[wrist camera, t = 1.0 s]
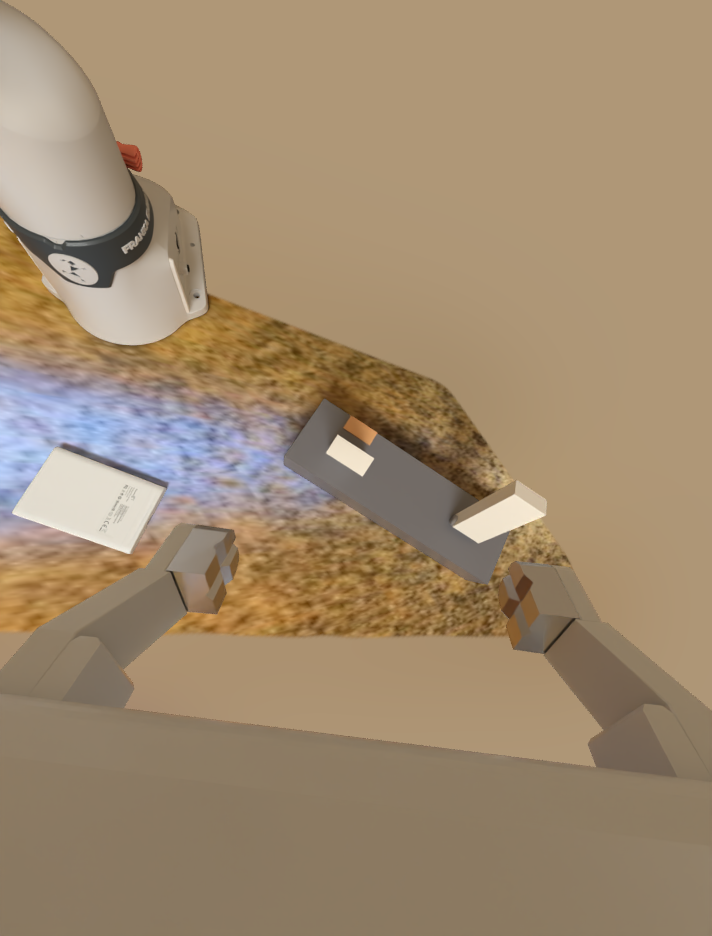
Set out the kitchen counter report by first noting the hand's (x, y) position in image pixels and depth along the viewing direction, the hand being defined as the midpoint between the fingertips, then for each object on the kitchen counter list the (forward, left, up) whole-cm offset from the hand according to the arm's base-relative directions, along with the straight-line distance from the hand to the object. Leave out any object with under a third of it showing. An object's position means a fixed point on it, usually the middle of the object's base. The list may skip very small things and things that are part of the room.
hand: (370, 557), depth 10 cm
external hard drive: (-4, -23, -35) cm, 42 cm away
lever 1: (-11, +5, -28) cm, 31 cm away
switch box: (-6, +13, -34) cm, 37 cm away
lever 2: (-2, +21, -28) cm, 35 cm away
